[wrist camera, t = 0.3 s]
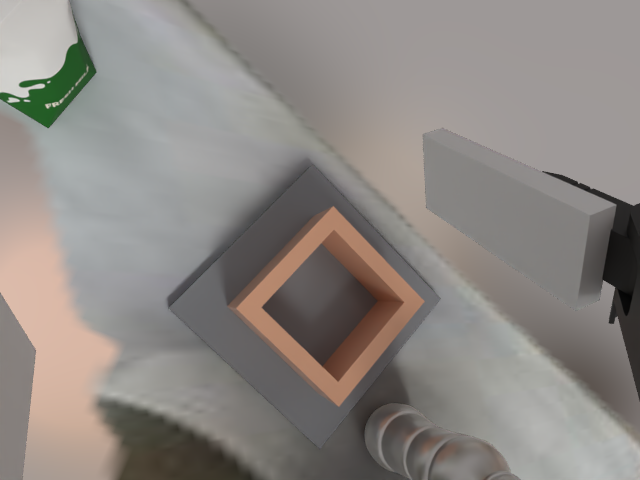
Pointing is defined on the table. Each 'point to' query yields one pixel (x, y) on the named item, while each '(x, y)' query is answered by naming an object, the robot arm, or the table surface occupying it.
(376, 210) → the table surface
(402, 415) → the silver bottle
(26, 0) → the milk carton
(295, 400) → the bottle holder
